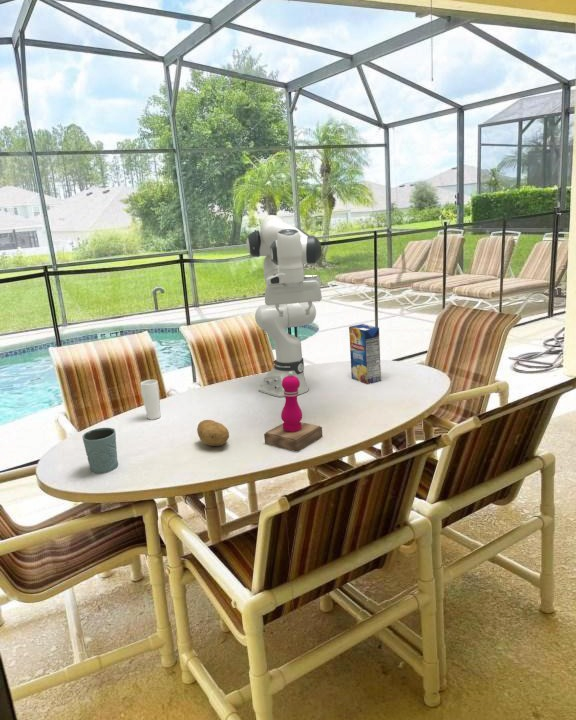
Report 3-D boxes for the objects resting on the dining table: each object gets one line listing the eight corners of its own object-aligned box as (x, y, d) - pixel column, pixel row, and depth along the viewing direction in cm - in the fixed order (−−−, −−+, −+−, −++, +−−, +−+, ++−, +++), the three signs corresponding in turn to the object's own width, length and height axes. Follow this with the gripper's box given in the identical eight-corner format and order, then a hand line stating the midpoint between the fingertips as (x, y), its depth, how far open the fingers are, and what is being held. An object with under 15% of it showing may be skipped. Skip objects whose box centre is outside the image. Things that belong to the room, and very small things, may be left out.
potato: (213, 455, 184) (210, 432, 182) (192, 443, 194) (189, 422, 192) (238, 445, 189) (235, 423, 187) (216, 435, 200) (213, 414, 198)
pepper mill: (301, 432, 186) (300, 374, 180) (280, 432, 187) (277, 374, 181) (303, 424, 192) (302, 368, 187) (283, 424, 193) (281, 368, 188)
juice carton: (351, 378, 253) (348, 326, 247) (365, 375, 256) (362, 323, 250) (367, 384, 242) (364, 330, 236) (381, 380, 246) (379, 327, 240)
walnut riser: (265, 443, 189) (263, 432, 188) (290, 429, 200) (289, 419, 199) (297, 452, 181) (296, 440, 179) (322, 436, 191) (321, 425, 190)
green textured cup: (100, 460, 187) (94, 426, 184) (127, 461, 184) (121, 427, 181) (82, 474, 177) (75, 439, 174) (109, 476, 174) (103, 440, 171)
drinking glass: (166, 415, 225) (161, 379, 221) (155, 421, 219) (150, 385, 215) (152, 414, 227) (147, 378, 224) (142, 420, 222) (136, 384, 218)
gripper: (320, 273, 199) (322, 311, 203) (263, 278, 199) (266, 316, 203) (321, 275, 193) (324, 314, 196) (262, 280, 193) (266, 319, 196)
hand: (294, 315), depth 199 cm, fingers open, 8 cm apart
